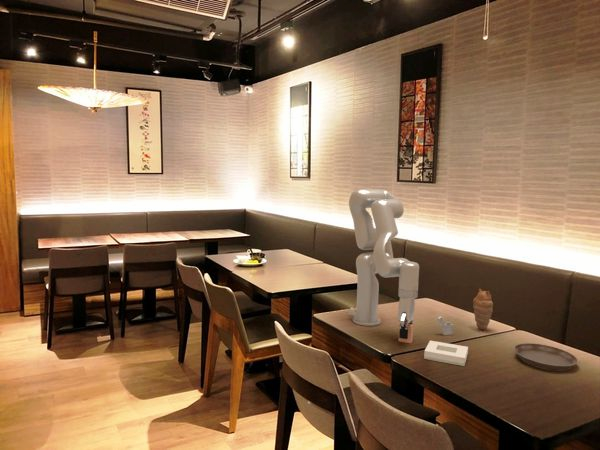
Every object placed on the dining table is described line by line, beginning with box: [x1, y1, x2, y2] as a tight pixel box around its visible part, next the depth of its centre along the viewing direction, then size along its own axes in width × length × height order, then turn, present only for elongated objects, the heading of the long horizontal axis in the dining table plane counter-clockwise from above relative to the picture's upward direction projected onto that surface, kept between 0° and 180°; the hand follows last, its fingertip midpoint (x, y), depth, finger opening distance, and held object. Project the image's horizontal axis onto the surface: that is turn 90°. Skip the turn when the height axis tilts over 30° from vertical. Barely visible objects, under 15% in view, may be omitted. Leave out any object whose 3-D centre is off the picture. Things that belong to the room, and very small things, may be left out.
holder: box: [423, 340, 469, 367], centre depth 173 cm, size 14×12×3 cm
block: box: [397, 323, 414, 344], centre depth 188 cm, size 5×3×7 cm, turn 65°
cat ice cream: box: [472, 288, 494, 331], centre depth 203 cm, size 9×8×18 cm
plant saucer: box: [513, 342, 579, 372], centre depth 171 cm, size 21×21×3 cm
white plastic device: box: [436, 315, 454, 336], centre depth 197 cm, size 7×2×8 cm, turn 104°
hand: (405, 334), depth 188 cm, fingers open, 8 cm apart
